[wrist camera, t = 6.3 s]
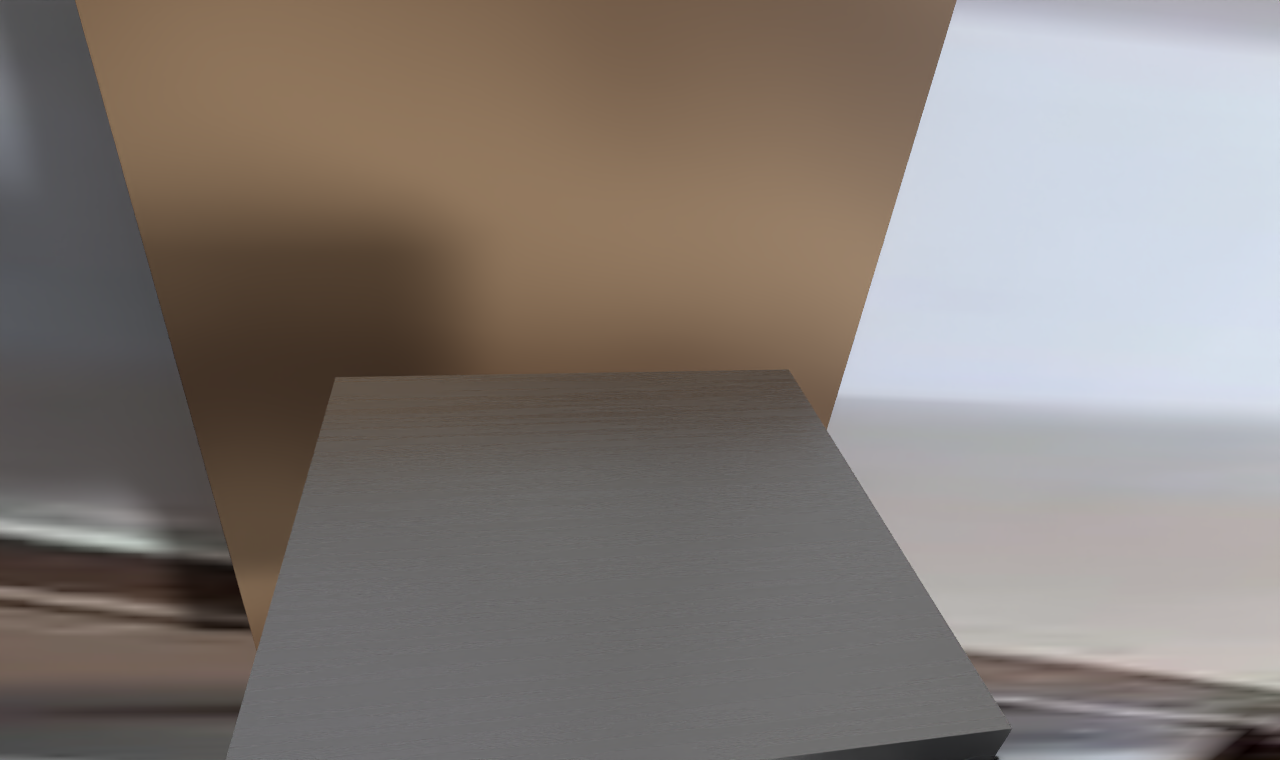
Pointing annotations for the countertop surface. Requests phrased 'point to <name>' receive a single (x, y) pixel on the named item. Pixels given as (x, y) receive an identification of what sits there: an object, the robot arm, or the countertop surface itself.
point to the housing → (598, 584)
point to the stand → (496, 199)
